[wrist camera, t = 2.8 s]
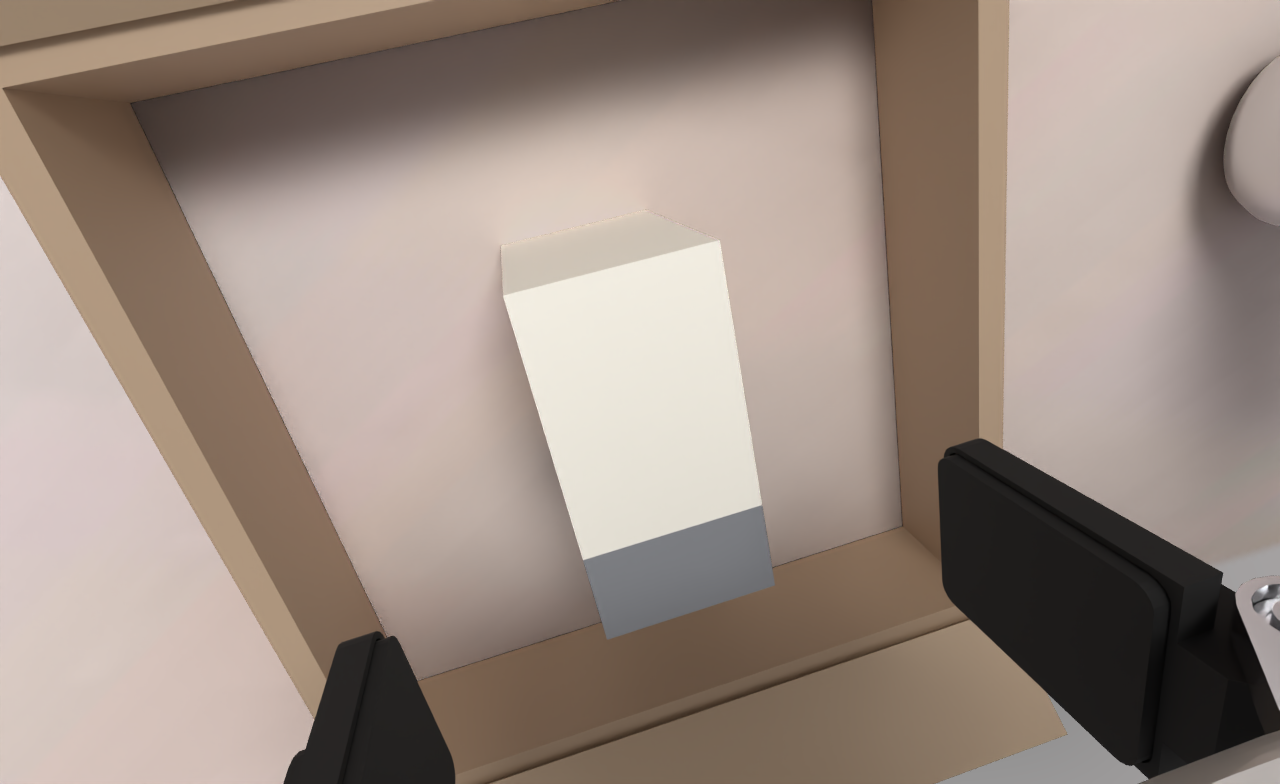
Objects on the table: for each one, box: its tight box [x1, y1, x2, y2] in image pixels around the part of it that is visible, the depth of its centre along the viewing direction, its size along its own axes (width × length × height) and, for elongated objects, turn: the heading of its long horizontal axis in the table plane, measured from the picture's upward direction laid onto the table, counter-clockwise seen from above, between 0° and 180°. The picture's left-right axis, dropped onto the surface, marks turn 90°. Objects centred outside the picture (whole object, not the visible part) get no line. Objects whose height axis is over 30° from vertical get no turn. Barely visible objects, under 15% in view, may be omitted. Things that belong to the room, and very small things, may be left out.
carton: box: [0, 0, 1067, 784], centre depth 17 cm, size 22×28×8 cm
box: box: [501, 210, 775, 640], centre depth 18 cm, size 4×9×7 cm, turn 12°
